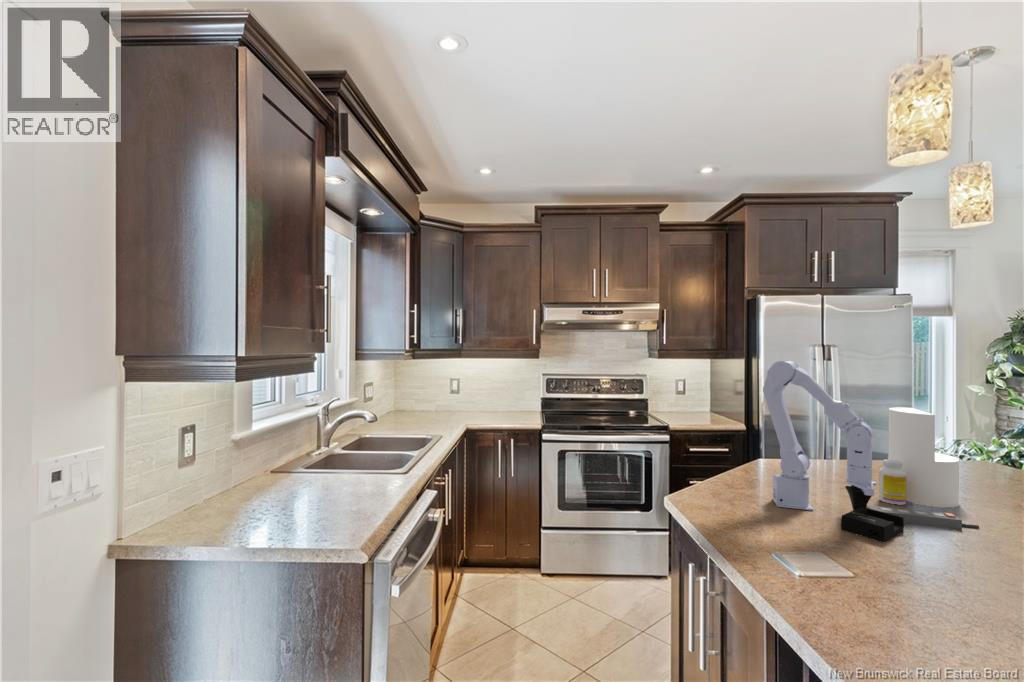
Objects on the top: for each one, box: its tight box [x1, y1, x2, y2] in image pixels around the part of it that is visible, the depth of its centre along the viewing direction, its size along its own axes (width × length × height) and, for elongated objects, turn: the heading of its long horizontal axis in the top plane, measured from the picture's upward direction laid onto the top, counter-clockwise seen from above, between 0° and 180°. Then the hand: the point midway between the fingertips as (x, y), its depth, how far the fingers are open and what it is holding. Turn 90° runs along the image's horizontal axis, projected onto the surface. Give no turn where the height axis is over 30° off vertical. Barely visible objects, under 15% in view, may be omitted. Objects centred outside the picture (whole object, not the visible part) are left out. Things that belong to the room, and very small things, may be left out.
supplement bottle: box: [878, 458, 907, 506], centre depth 148 cm, size 7×7×13 cm
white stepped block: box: [887, 407, 960, 508], centre depth 152 cm, size 17×17×28 cm
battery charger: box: [840, 507, 905, 543], centre depth 125 cm, size 13×10×4 cm
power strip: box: [866, 504, 980, 530], centre depth 131 cm, size 25×5×3 cm, turn 72°
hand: (858, 513), depth 134 cm, fingers closed
